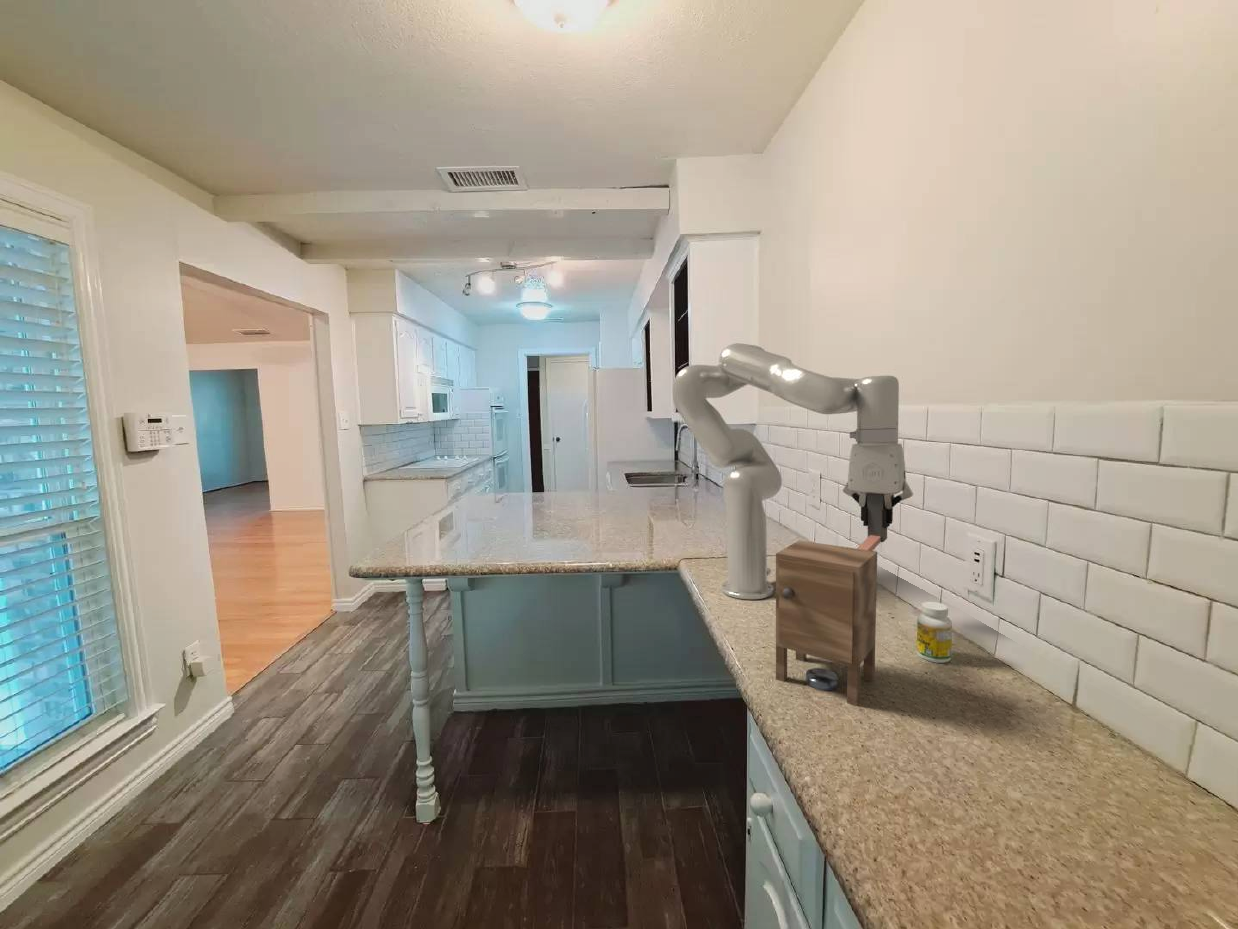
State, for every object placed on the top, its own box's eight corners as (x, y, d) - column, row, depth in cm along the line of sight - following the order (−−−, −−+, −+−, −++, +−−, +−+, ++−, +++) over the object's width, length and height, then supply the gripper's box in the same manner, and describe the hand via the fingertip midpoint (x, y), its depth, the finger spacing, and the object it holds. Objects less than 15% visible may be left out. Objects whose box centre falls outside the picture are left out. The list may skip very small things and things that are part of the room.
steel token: (812, 673, 89) (812, 665, 89) (842, 682, 86) (842, 674, 86) (801, 685, 86) (801, 677, 85) (832, 696, 82) (832, 687, 82)
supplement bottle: (957, 663, 91) (960, 610, 90) (928, 664, 90) (930, 612, 89) (937, 648, 96) (939, 599, 95) (910, 650, 96) (911, 600, 95)
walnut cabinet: (798, 656, 95) (799, 540, 92) (874, 678, 86) (877, 551, 84) (771, 682, 86) (771, 555, 84) (853, 710, 78) (855, 570, 75)
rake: (861, 535, 110) (861, 490, 109) (897, 539, 106) (897, 492, 104) (824, 570, 93) (822, 517, 92) (865, 577, 89) (864, 521, 87)
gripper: (829, 438, 107) (829, 525, 109) (919, 438, 96) (917, 534, 98) (841, 436, 112) (841, 518, 114) (926, 436, 102) (925, 526, 104)
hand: (876, 525), depth 106 cm, fingers closed on rake, 3 cm apart
